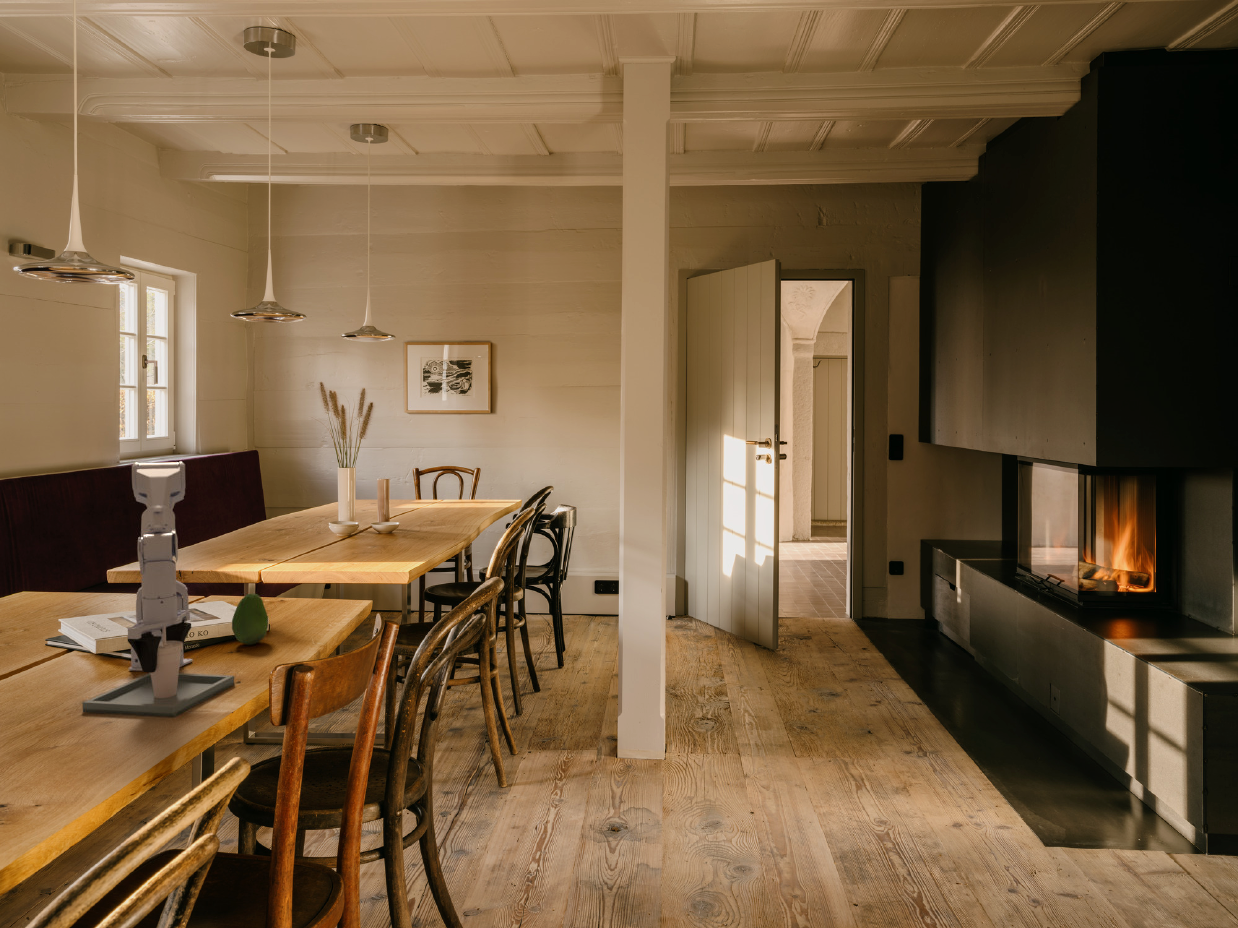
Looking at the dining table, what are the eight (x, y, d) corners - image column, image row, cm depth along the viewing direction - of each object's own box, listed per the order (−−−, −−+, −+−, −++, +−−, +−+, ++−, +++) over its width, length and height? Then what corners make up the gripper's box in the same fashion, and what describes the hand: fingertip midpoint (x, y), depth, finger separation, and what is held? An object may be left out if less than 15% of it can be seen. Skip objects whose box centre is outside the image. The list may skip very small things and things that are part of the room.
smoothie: (147, 702, 150) (145, 628, 150) (144, 693, 156) (142, 621, 155) (186, 696, 154) (184, 623, 153) (182, 687, 159) (180, 616, 158)
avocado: (275, 639, 196) (274, 590, 195) (257, 648, 188) (256, 597, 187) (243, 638, 196) (242, 590, 196) (224, 647, 189) (223, 597, 188)
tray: (82, 711, 147) (82, 702, 147) (152, 680, 165) (152, 671, 165) (173, 716, 145) (173, 707, 145) (234, 684, 163) (234, 675, 163)
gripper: (151, 605, 146) (154, 679, 147) (203, 588, 160) (205, 656, 161) (116, 603, 147) (118, 677, 148) (170, 587, 161) (172, 654, 162)
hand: (161, 666), depth 155 cm, fingers closed on smoothie, 6 cm apart
